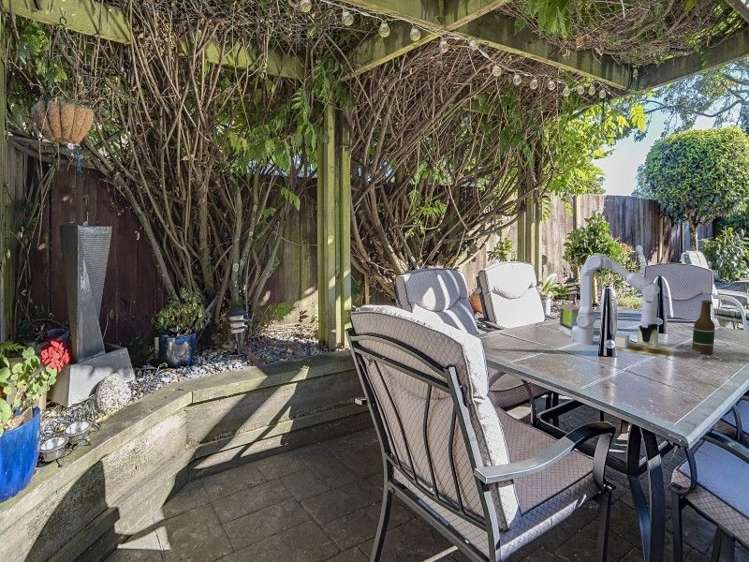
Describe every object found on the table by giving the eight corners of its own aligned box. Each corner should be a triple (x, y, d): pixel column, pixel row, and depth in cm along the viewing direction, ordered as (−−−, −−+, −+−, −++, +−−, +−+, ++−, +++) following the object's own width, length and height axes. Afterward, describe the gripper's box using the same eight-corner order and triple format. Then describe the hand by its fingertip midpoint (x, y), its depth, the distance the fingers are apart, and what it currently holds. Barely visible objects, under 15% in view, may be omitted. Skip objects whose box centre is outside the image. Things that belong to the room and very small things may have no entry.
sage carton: (637, 344, 200) (638, 329, 199) (639, 342, 203) (640, 328, 203) (655, 346, 195) (656, 332, 194) (657, 344, 199) (658, 330, 198)
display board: (604, 350, 208) (604, 344, 207) (615, 343, 221) (615, 337, 221) (665, 360, 192) (665, 354, 191) (672, 352, 205) (673, 346, 205)
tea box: (589, 337, 233) (591, 309, 232) (570, 337, 233) (571, 309, 232) (576, 330, 248) (578, 304, 247) (558, 330, 248) (560, 304, 247)
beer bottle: (690, 352, 204) (694, 300, 201) (693, 349, 210) (697, 298, 207) (711, 356, 199) (716, 302, 196) (713, 352, 205) (718, 300, 202)
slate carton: (609, 347, 208) (610, 334, 207) (611, 345, 211) (612, 332, 210) (626, 350, 203) (627, 336, 202) (628, 348, 206) (629, 334, 206)
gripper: (656, 314, 190) (654, 345, 191) (663, 309, 200) (660, 339, 202) (637, 312, 194) (635, 342, 196) (645, 307, 205) (643, 336, 207)
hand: (647, 340), depth 199 cm, fingers closed on sage carton, 5 cm apart
